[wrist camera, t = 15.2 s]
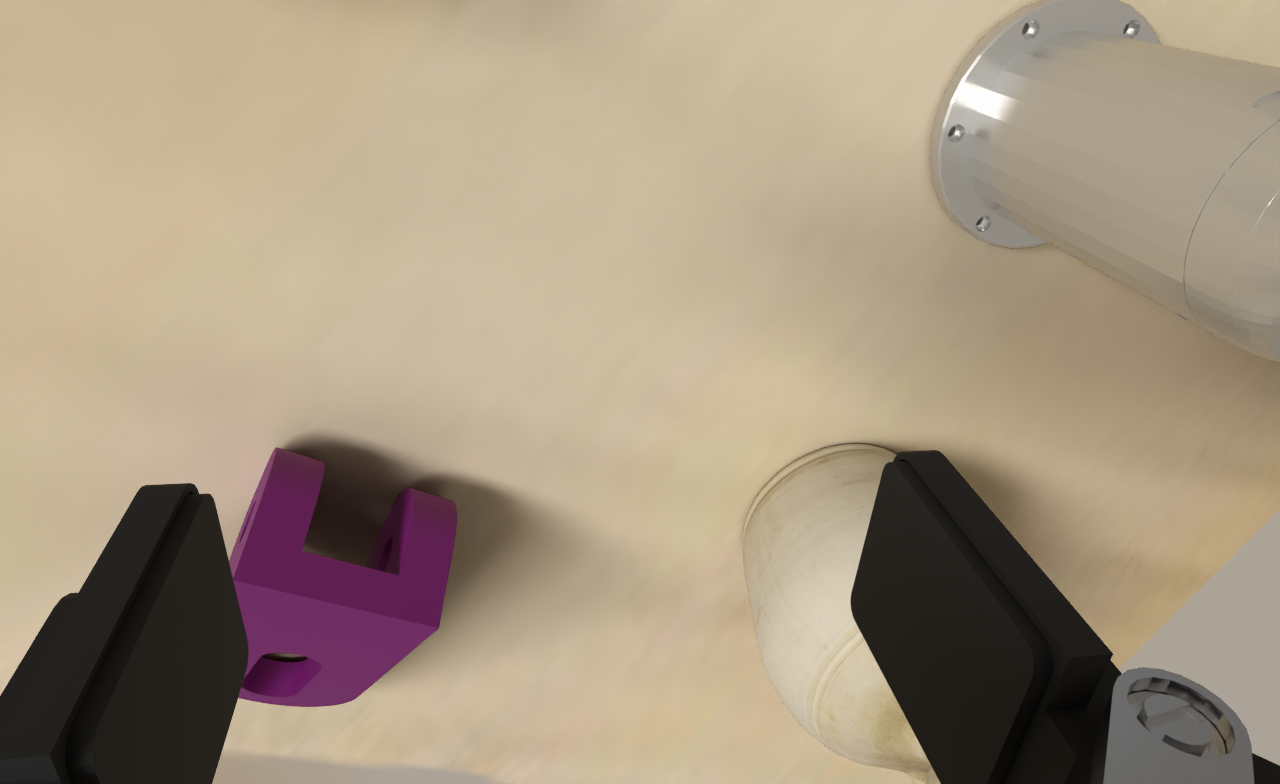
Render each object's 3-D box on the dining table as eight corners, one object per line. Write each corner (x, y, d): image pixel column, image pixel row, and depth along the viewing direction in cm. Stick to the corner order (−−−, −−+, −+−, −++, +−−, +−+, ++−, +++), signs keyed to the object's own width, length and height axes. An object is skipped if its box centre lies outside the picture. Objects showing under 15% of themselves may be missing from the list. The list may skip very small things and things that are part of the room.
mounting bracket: (365, 589, 57) (467, 477, 45) (335, 715, 52) (439, 628, 40) (221, 553, 53) (288, 420, 41) (173, 686, 48) (232, 579, 36)
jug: (767, 400, 48) (1018, 782, 27) (978, 440, 53) (1328, 789, 32) (682, 595, 55) (832, 1023, 34) (878, 613, 60) (1114, 998, 39)
